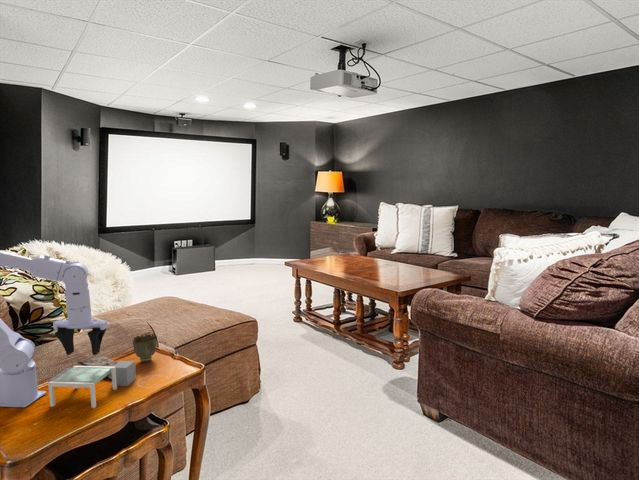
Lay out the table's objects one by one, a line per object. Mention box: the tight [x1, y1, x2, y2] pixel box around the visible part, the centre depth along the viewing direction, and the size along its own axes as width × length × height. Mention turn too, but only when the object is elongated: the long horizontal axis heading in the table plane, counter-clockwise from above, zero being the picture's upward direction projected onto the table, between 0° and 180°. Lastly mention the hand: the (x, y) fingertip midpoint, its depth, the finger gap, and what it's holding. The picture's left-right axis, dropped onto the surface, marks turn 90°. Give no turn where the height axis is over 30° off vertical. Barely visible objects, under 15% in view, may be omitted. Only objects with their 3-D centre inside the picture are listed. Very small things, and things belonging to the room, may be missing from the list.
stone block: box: [112, 360, 137, 387], centre depth 123 cm, size 5×5×6 cm
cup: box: [131, 333, 158, 363], centre depth 138 cm, size 8×7×8 cm
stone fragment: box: [80, 355, 119, 380], centre depth 133 cm, size 25×3×10 cm
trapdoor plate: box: [47, 366, 111, 385], centre depth 114 cm, size 12×8×2 cm
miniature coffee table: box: [47, 365, 118, 409], centre depth 114 cm, size 12×11×6 cm
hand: (83, 353), depth 118 cm, fingers open, 7 cm apart
